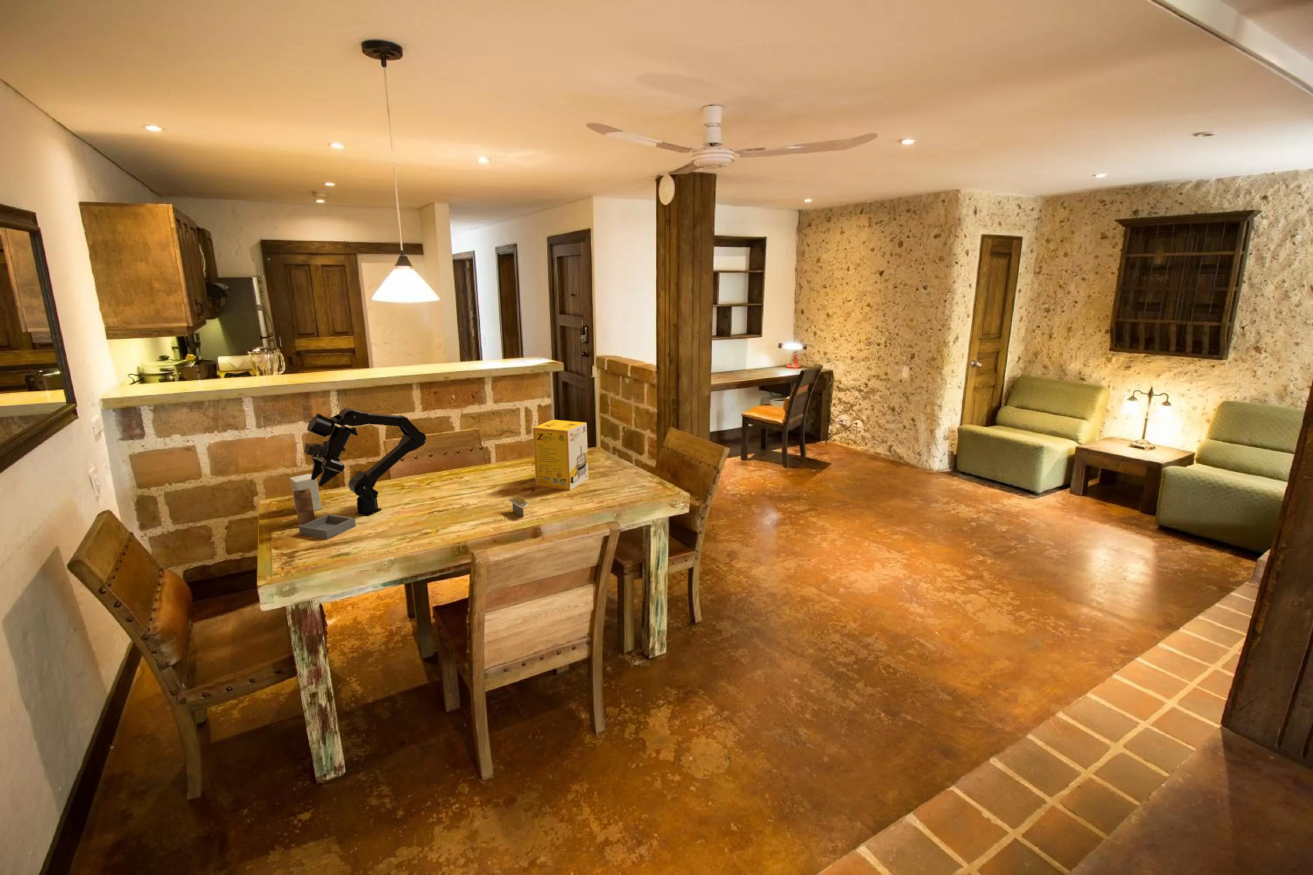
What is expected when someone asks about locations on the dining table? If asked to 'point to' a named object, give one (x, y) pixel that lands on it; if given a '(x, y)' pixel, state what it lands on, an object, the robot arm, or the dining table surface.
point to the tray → (327, 526)
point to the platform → (518, 504)
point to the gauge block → (304, 506)
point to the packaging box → (560, 454)
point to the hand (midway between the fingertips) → (316, 482)
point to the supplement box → (307, 483)
